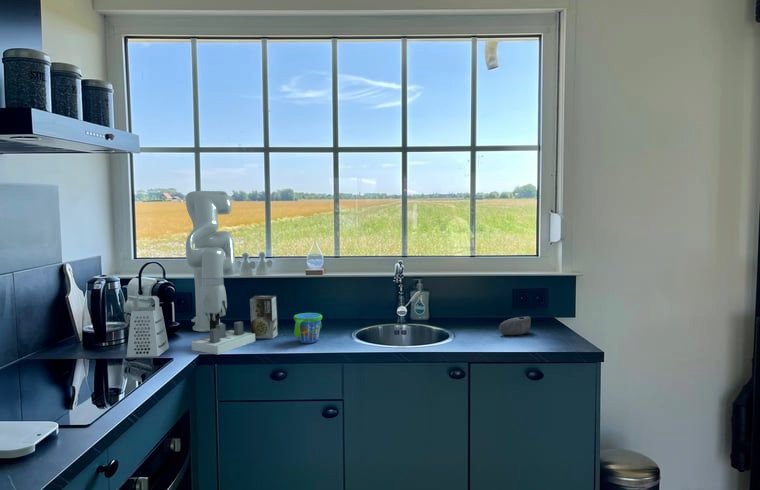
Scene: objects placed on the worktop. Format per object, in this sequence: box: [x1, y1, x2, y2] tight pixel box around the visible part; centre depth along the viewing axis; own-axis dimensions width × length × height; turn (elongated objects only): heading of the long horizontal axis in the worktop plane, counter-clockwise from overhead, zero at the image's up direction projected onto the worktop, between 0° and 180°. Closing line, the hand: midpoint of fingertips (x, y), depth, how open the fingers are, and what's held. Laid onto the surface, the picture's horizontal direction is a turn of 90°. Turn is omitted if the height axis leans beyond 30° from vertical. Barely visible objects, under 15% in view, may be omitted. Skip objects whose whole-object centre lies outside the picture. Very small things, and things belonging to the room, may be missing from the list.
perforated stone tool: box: [498, 315, 532, 336], centre depth 191 cm, size 15×5×7 cm, turn 106°
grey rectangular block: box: [216, 323, 227, 338], centre depth 179 cm, size 3×3×4 cm
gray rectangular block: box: [233, 321, 245, 335], centre depth 183 cm, size 3×3×4 cm
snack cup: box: [293, 312, 323, 344], centre depth 183 cm, size 16×10×10 cm
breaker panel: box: [191, 329, 256, 355], centre depth 178 cm, size 13×19×3 cm
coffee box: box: [249, 295, 278, 339], centre depth 190 cm, size 9×6×16 cm
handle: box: [208, 328, 221, 343], centre depth 172 cm, size 3×3×4 cm
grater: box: [126, 295, 170, 358], centre depth 170 cm, size 10×10×20 cm
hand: (214, 330), depth 180 cm, fingers closed
